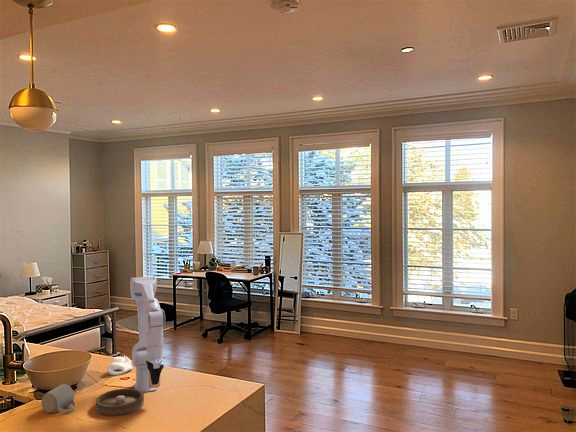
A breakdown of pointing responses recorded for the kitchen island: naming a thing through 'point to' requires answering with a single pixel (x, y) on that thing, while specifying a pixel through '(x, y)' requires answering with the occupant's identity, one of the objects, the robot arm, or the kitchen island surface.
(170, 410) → the kitchen island surface
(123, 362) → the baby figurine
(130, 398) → the groove tray
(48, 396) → the ceramic mug
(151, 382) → the bead
